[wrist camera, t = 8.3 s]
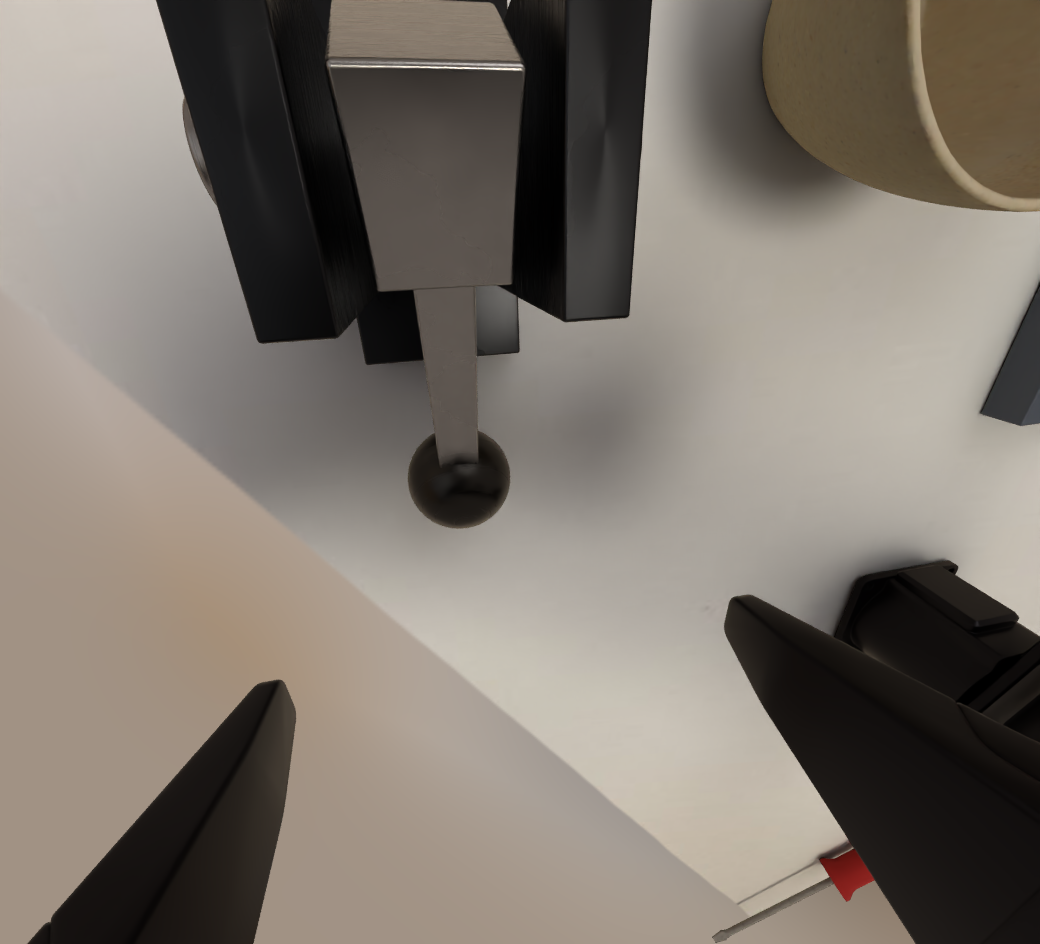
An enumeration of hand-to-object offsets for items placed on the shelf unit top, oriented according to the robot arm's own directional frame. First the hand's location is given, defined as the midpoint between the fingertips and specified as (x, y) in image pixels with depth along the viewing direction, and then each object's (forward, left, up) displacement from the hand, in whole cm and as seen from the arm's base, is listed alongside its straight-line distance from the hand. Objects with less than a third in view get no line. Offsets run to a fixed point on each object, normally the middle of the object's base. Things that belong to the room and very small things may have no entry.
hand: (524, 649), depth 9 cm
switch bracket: (+8, +1, -10) cm, 13 cm away
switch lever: (+5, +1, -6) cm, 8 cm away
